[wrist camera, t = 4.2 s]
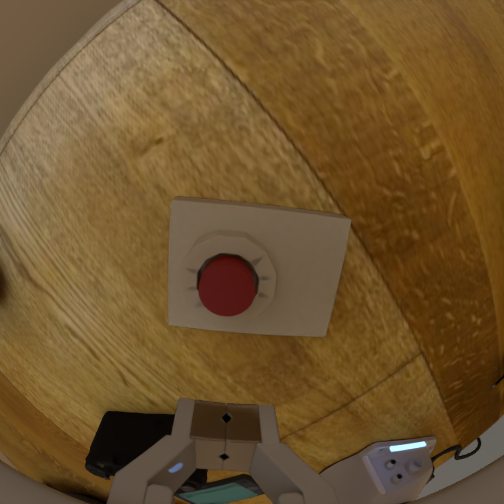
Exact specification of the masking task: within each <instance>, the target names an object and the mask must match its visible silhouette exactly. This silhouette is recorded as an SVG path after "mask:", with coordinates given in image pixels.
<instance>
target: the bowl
mask: <svg viewBox="0 0 504 504" xmlns="http://www.w3.org/2000/svg"><path fill="white" fill-rule="evenodd" d="M64 494H66V495H69V496H71V497H74V498H76V499H79V500H81V501H84V502H87V503H89V504H103V503H101V502H99V501H97V500H95V499H92V498H89V497H86V496H83V495H79V494H73V493H64Z"/></svg>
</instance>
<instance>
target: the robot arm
mask: <svg viewBox="0 0 504 504" xmlns="http://www.w3.org/2000/svg"><path fill="white" fill-rule="evenodd" d="M476 440H477V442H478V446H477V448H476V449H475V450H474V451H472V452H471V453H468V454H466V455H462V456H459V454H460V452H461V449H462V447H461V446H454V447H451V448H448V449H446V450H444V451H443V452H441V453H439V454H438V455H436V456H434V457H433V458H431V457H430V453H431V452H432V450H433V449H434V447H435V445H436V437H435V436H430V437H423V438H416V439H408V440H398V441H387V442H377V443H374V444H372V445H370V446H368V447H367V448H365V449H364V450H362V451H361V452H359V453H358V454H356V455H354V456H352V457H349V458H347V459H345V460H342V461H340V462H338V463H336V464H334V465H332V466H331V467H329V468H327V469H326V470H324V471H323V472H322V473H321V474H318V473H317V472H316V471H315V470H314V469H313V468H311V467H310V466H309V465H308V464H307V463H306V462H305V461H304V460H302V459H301V458H300V457H299V456H298V455H297V454H296V453H295V452H294V451H293V450H292V449H291V448H290V447H288V446H287V445H286V444H285V443H280V437H279V431H278V425H277V418H276V412H275V407H274V406H273V405H257V404H234V403H219V402H210V401H203V400H194V399H187V398H181V397H180V398H179V400H178V404H177V409H176V413H175V418H174V423H173V428H172V433H171V435H166V436H164V437H163V438H162V439H161V440H159V441H158V442H157V443H156V444H154V445H153V446H152V447H150V448H149V449H148V450H147V451H145V452H144V453H143V454H141V455H140V456H139V457H137V458H136V459H135V460H133V461H132V462H131V463H129V464H128V465H126V466H125V467H124V468H122V469H121V470H120V471H118V472H117V473H115V477H114V480H113V483H112V487H111V490H110V493H109V497H108V500H107V504H176V503H175V498H174V493H175V492H176V490H177V489H178V488H179V487H180V486H181V485H182V484H183V483H184V482H185V481H186V480H187V479H188V478H189V477H190V475H191V474H192V473H193V472H194V471H195V470H196V468H199V469H212V470H228V471H242V472H249V474H250V475H251V476H252V478H253V479H254V480H255V482H256V483H257V484H258V485H259V487H260V488H261V489H262V491H263V492H264V493H265V494H266V496H267V497H268V498H269V499H270V500H271V502H272V503H273V504H504V455H503V456H502V457H500V458H498V459H497V460H495V461H494V462H492V463H490V464H489V465H487V466H485V467H484V468H482V469H480V470H479V471H477V472H475V473H473V474H472V475H470V476H468V477H466V478H464V479H462V480H460V481H458V482H456V483H454V484H452V485H450V486H448V487H446V488H444V489H441V490H439V491H437V492H435V493H432V494H430V495H427V496H425V497H422V498H420V499H417V500H416V498H417V497H418V495H419V494H420V492H421V491H422V489H423V488H424V486H425V485H426V484H427V483H428V482H429V481H430V480H432V479H433V478H434V477H435V476H434V474H433V473H434V466H433V462H434V461H435V460H436V459H437V458H438V457H439V456H441V455H443V454H445V453H448V452H450V451H454V450H457V452H456V454H455V457H454V458H455V459H456V460H459V459H464V458H467V457H469V456H471V455H473V454H475V453H476V452H477V451H478V450H479V449H480V447H481V439H480V438H479V437H478V438H477V439H476ZM0 504H89V503H87V502H84V501H81V500H79V499H76V498H74V497H71V496H69V495H66V494H64V493H62V492H59V491H57V490H55V489H53V488H50V487H48V486H46V485H44V484H42V483H40V482H38V481H36V480H34V479H32V478H30V477H29V476H27V475H25V474H23V473H21V472H19V471H18V470H16V469H14V468H13V467H11V466H9V465H8V464H6V463H4V462H3V461H1V460H0Z"/></svg>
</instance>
